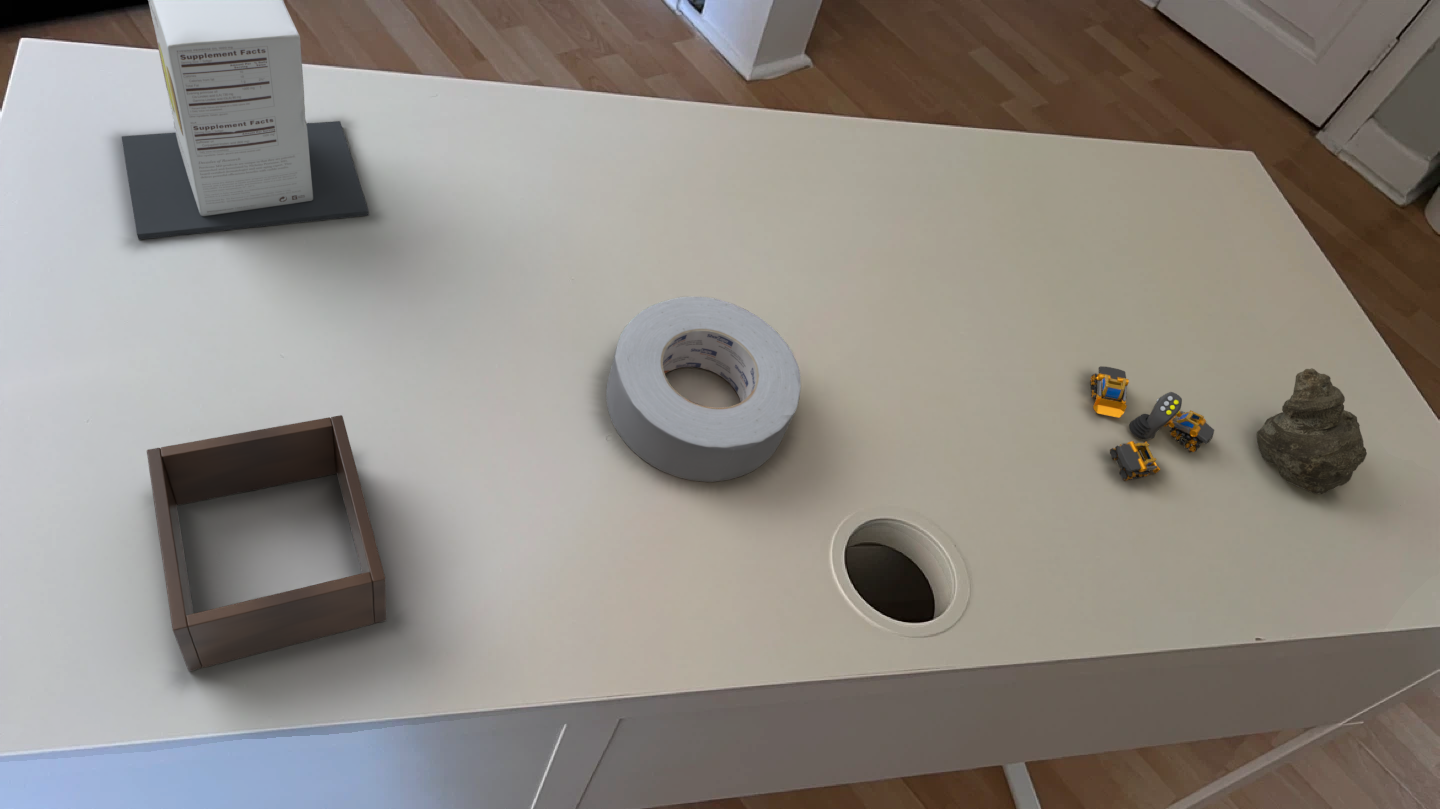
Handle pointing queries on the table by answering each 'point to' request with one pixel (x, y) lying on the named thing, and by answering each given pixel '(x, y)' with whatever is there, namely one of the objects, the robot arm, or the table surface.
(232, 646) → the brown open square box
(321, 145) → the mat
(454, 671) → the table surface
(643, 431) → the tape roll
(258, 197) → the supplement box
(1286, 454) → the seashell
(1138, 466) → the toy set
